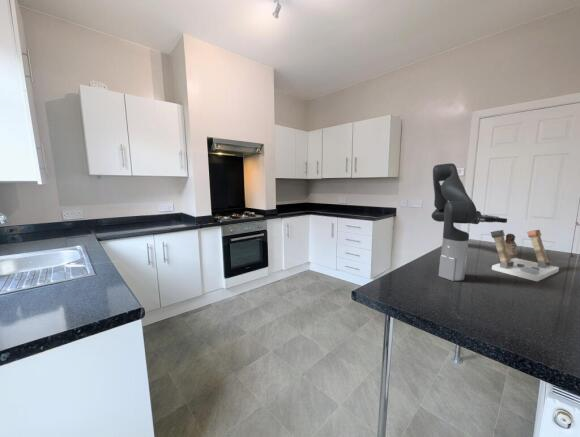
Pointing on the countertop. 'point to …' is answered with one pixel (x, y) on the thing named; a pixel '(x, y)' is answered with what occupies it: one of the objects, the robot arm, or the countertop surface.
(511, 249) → the figurine
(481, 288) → the countertop surface
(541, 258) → the brown long rectangular block
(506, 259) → the tan wooden post
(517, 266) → the panel
